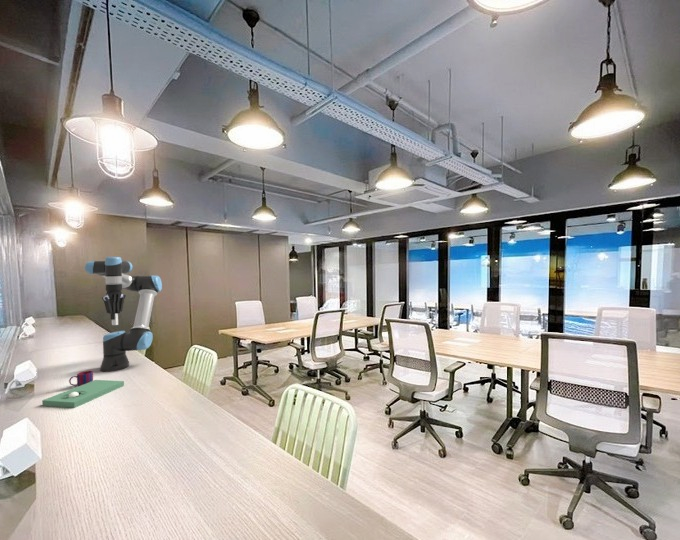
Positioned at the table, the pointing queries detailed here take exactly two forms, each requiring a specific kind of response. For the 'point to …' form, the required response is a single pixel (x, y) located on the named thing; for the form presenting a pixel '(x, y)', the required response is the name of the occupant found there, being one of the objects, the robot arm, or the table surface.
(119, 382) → the green
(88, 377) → the mug
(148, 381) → the table surface
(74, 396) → the ball
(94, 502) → the table surface
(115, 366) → the robot arm
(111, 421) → the table surface
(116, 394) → the table surface
